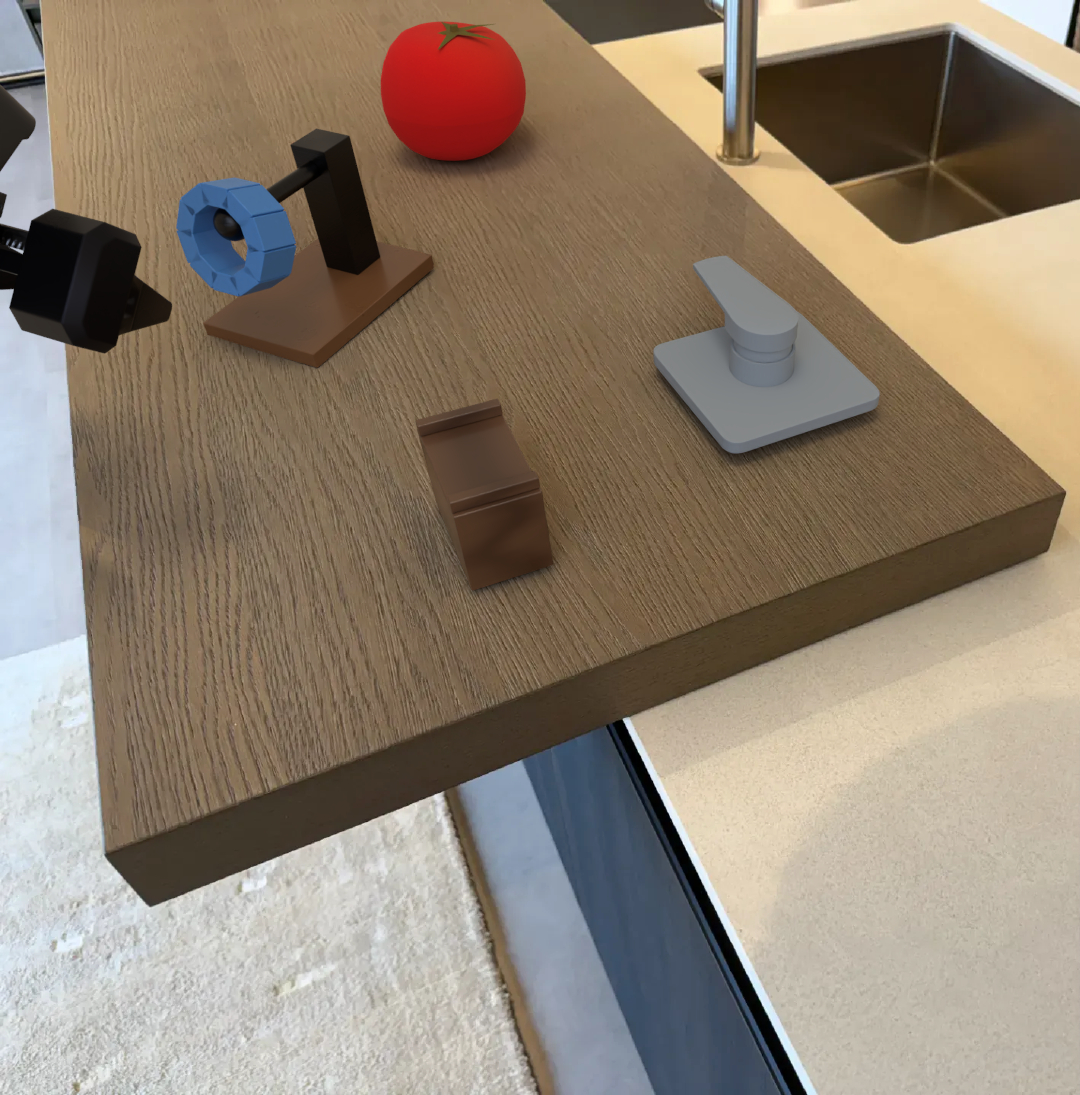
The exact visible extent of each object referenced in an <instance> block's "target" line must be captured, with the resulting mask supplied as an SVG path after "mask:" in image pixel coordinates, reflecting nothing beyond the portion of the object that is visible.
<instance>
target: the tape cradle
mask: <svg viewBox="0 0 1080 1095" xmlns="http://www.w3.org/2000/svg"><path fill="white" fill-rule="evenodd" d="M503 413H504V412H503V408H502V404H501V402H500V400H499V399H498V398H494V399H491V400H487V401H483V402H479V403H475V404H472V405H467V406H463V407H460V408H457V409H453V410H448V411H445V412H441V413H437V414H433V415H429V416H425V417H422V418H418V419H415V421H414V422H415V425H416V426H415V427H416V431H417V435H418V440H419V442H420V447H421V450H422V454H423V459H424V462H425V466H426V470H427V473H428V477H429V481H430V485H431V488H432V493H433V496H434V500H435V503H436V506H437V508H438V510H439V513H440V516H441V518H442V520H443V522H444V525H445V528H446V530H447V533H448V535H449V538H450V541H451V544H452V545H453V547H454V551H455V552H456V555H457V557H458V560H459V563H460V565H461V567H462V571H463V573H464V575H465V577H466V580H467V583H468V585H469V587H470V591H476V590H479V589H483V588H485V587H488V586H491V585H494V584H498V583H500V582H505V581H507V580H510V579H514V578H517V577H520V576H522V575H527V574H529V573H533V572H535V571H539V570H542V569H545V568H547V567H551V566H553V565H554V559H553V553H552V545H551V540H550V534H549V528H548V521H547V520H548V519H547V515H546V514H547V513H546V508H545V501H544V495H543V491H542V489H541V484H540V478H539V476H538V474H537V472H536V470H532V469H531V467H530V465H529V463H528V461H527V459H526V458H525V455H524V454H523V452H522V449H521V448H520V446H519V443H518V441H517V439H516V438H515V436H514V434H513V432H512V430H511V428H510V426H509V424H508V422H507V421H506V418H505V416H504V414H503Z"/></svg>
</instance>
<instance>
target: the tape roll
mask: <svg viewBox="0 0 1080 1095" xmlns="http://www.w3.org/2000/svg"><path fill="white" fill-rule="evenodd" d="M266 189H267V188H266V187H264V185H263V184H261V183H260V182H256V181H252V180H247V179H243V178H239V177H229V178H222V179H216V180H210V181H203V182H198V183H197V184H196V185H194V187H192V188H191V189H189V190H188V191H187V192H186V193H185V194H184V195H182V196H181V197H180V199H179V202H178V211H177V219H176V226H175V228H176V231H175V232H176V234H177V238H178V240H179V243H180V245H181V248H182V251H183V253H184V256H185V258H186V262H187V264H189V267H191V269H192V270H193V271H194V272H195V273H196V274H197V275H198V276H199V277H200V278H201V279H202V280H203V282H205V283H206V284H207V286H208V287H209V288H210V289H213V291H217V292H219V293H224V294H228V295H231V296H235V297H237V298H238V297H239V296H244V295H247V294H251V293H254V292H258V291H261V290H265V289H268V288H272V287H273V286H275V285H276V284H278V283H279V282H281V281H282V280H283V279H285V278H286V277H288V276H289V275H290V274H291V271H292V266H293V261H294V256H295V255H296V250H297V245H296V244H297V241H296V238H295V235H294V232H293V229H292V225H291V223H290V219H289V215H288V213H287V211H286V210H285V208H284V207H283V206H282V204H281V203H278V201H277V200H276V199H275V198H274V197H273V196H272V195H271V194H270V193H269V192H268V191H267V190H266ZM218 208H221V209H225V210H226V211H227V212H228V213H229V214H230V215H231V216H232V217H233V218H234V219H235V221H236V222H237V223H238V224H239V225H240V226H241V229H242V232H243V235H244V238H245V239H244V241H245V244H246V248H247V249H246V256H245V259H244V258H243V257H242V256H241V255H240V254H239V253H238V252H237V251H236V250H235V248H234V246H233V244H232V241H229V240H227V239H224V238H223V237H221V236H220V235H219V234H218V233H217V231H216V230H215V228H214V224H213V216H214V214H215V212H216V210H217V209H218Z"/></svg>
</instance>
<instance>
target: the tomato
mask: <svg viewBox="0 0 1080 1095" xmlns="http://www.w3.org/2000/svg"><path fill="white" fill-rule="evenodd" d="M494 25H495V23H488V24H472V23H467V22H459V21H458V22H457V21H430V22H423V23H420V24H416V25H413V26H411V27H409V28H407V29H404V30H403V31H401V32H400V33H399V34H398V36H397V37H396V38H395V39H394V40H393V41H392V43H391V44H390V45H389V47H388V49H387V52H386V55H385V57H384V60H383V64H382V69H381V74H380V98H381V104H382V109H383V113H384V115H385V118H386V121H387V123H388V125H389V128H390V129H391V130H392V132H393V133H394V135H395V136H396V137H397V139H398V140H399V141H400V142H401V143H402V144H404V145H405V146H406V147H407V148H408V149H410V151H412V152H414V153H416V154H418V155H421V156H422V157H425V158H428V159H432V160H437V161H449V162H450V161H452V162H455V161H468V160H473V159H476V158H480V157H483V156H485V155H488V154H489V153H491V152H493V151H494V150H496V149H497V148H499V147H500V146H501V145H503V144H504V143H505V141H507V140H508V139H509V138H510V137H511V135H512V134H513V133H514V132H515V131H516V129H517V127H519V124H520V122H521V120H522V118H523V115H524V112H525V107H526V97H527V87H526V86H527V85H526V77H525V74H524V69H523V66H522V62H521V60H520V59H519V57H518V55H517V53H516V51H515V50H514V48H513V47H512V46H511V45H510V43H509V42H508V41H507V40H506V39H505V38H504V37H503V36H502V35H501V34H499V33H497V32H496V31H494V30H493V29H491V28H488V27H487V26H494Z"/></svg>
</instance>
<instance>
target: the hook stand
mask: <svg viewBox="0 0 1080 1095" xmlns="http://www.w3.org/2000/svg"><path fill="white" fill-rule="evenodd" d="M290 149H291V152H292V155H293V158H294V162H295V166H296V169H295V170H294V171H292V172H290V173H289V174H287V175H285V176H284V177H283V178H281V179H279V180H277V181H276V182H275V183H273V184H272V185H270V186H269V187H267V188H265V189H266V190H267V191H268V192H269V193H270V194H271V195H272V196H273V197H274V198H275V199H276V200H277V201H278V203H279V204H281V203H282V202H284V201H285V200H287V199H288V198H290V197H291V196H293V195H294V194H296V193H297V192H299V191H300V190H301V189H303V192H304V195H305V199H306V202H307V205H308V208H309V212H310V216H311V219H312V223H313V226H314V230H315V232H316V236H317V238H316V239H315V240H313V242H311V243H309V244H308V245H307V246H305V247H304V248H303V249H302V250H300V251H298V252H297V253H295V256H294V261H293V266H292V271H291V274H290V275H289V276H288V277H286V278H285V279H283V280H282V281H281V282H279V283H278V284H276V285H275V286H273V287H272V288H268V289H265V290H261V291H258V292H254V293H251V294H247V295H244V296H239V297H238V296H237V297H236V298H234V299H233V300H232V301H231V302H228V304H227V305H225V306H224V307H222V308H221V309H220V310H218V311H217V312H216V313H214V314H213V315H212V316H210V317H209V318H207V319H206V320H205V321H203V322H202V325H203V327H204V329H205V332H206V335H207V336H211V337H213V338H216V339H221V340H224V341H227V342H230V343H233V344H237V345H239V346H242V347H246V348H249V349H252V350H256V351H259V352H262V353H265V354H269V355H272V356H275V357H278V358H282V359H285V360H289V361H293V362H295V363H299V364H302V365H306V366H309V367H313V368H319V367H321V366H322V365H323V364H324V363H326V361H328V360H329V359H330V358H331V357H332V356H334V355H335V353H337V352H338V351H339V350H341V348H343V347H344V346H345V345H346V344H347V343H348V342H350V341H351V340H352V339H353V338H354V337H355V336H356V335H358V334H359V333H360V332H362V330H364V329H365V328H366V327H367V326H368V325H370V324H371V323H372V322H373V321H374V320H375V319H377V317H379V316H380V315H381V314H382V313H383V312H384V311H385V310H387V309H388V308H389V307H391V305H393V304H394V303H395V302H396V301H397V300H398V299H400V298H401V297H402V296H403V295H404V294H405V293H407V291H409V290H410V289H411V288H412V287H414V286H415V285H416V284H417V283H418V282H419V281H420V280H422V279H423V278H424V277H425V276H426V275H428V274H429V272H431V271H432V270H433V269H434V268H435V265H434V260H433V259H434V258H433V255H432V254H429V253H427V252H422V251H417V250H415V249H410V248H406V247H402V246H399V245H394V244H390V243H385V242H383V241H377V237H376V234H375V230H374V225H373V221H372V218H371V214H370V210H369V206H368V203H367V198H366V194H365V191H364V187H363V183H362V179H361V176H360V171H359V167H358V163H357V159H356V155H355V151H354V148H353V144H352V139H351V136H350V135H349V134H343V133H340V132H336V131H335V132H334V131H330V130H325V129H322V128H321V129H320V128H315V129H313V130H311V131H310V132H308V133H306V134H305V135H304V136H302V137H300V138H298V139H297V140H295V141H293V142H292V143H291V144H290ZM213 224H214V228H215V230H216V231H217V233H218V234H219V235H220V236H221V237H223V238H224V239H227V240H229V241H231V242H240V241H243V240H245V238H244V235H243V232H242V229H241V226H240V225H239V224H238V223H237V222H236V221H235V219H234V218H233V217H232V216H231V215H230V214H229V213H228V212H227V211H226V210H225V209H221V208H218V209H217V210H216V212H215V214H214V216H213Z"/></svg>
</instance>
